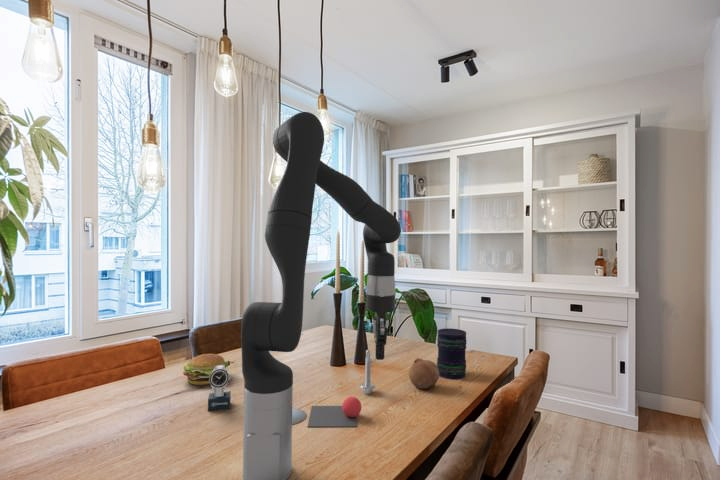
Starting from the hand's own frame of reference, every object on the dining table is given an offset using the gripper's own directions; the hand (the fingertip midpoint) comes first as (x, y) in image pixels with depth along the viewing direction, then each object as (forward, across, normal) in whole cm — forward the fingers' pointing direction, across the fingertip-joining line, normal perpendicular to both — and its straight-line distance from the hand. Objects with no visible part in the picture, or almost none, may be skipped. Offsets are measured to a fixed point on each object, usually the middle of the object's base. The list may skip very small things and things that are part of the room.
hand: (379, 358), depth 102 cm
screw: (+15, -16, -2) cm, 22 cm away
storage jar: (+15, -32, +28) cm, 45 cm away
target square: (+15, 0, -12) cm, 19 cm away
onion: (+15, -20, +16) cm, 30 cm away
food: (+15, -27, -54) cm, 62 cm away
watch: (+15, -6, -43) cm, 46 cm away
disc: (+15, 0, -24) cm, 28 cm away
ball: (+12, 0, -7) cm, 14 cm away
